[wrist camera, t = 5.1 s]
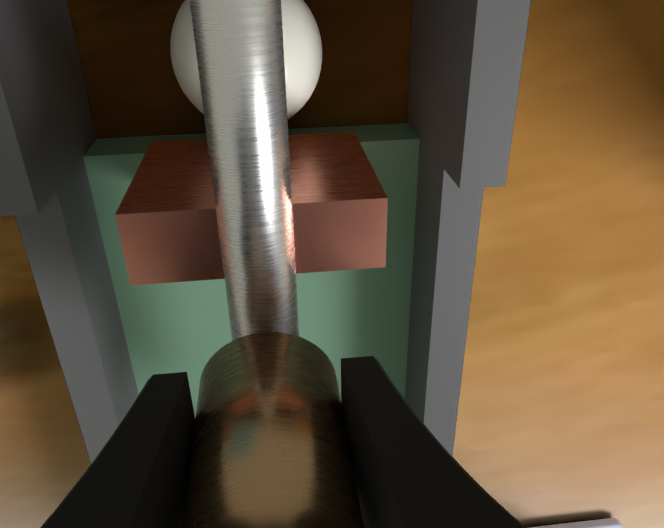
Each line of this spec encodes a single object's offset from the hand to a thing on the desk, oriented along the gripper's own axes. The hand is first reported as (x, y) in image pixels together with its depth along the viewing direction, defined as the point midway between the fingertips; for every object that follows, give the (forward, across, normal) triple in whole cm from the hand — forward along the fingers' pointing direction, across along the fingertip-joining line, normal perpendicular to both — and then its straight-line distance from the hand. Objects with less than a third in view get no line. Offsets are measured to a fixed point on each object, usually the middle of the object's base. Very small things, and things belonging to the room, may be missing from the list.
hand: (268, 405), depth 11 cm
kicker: (+6, 0, -5) cm, 8 cm away
